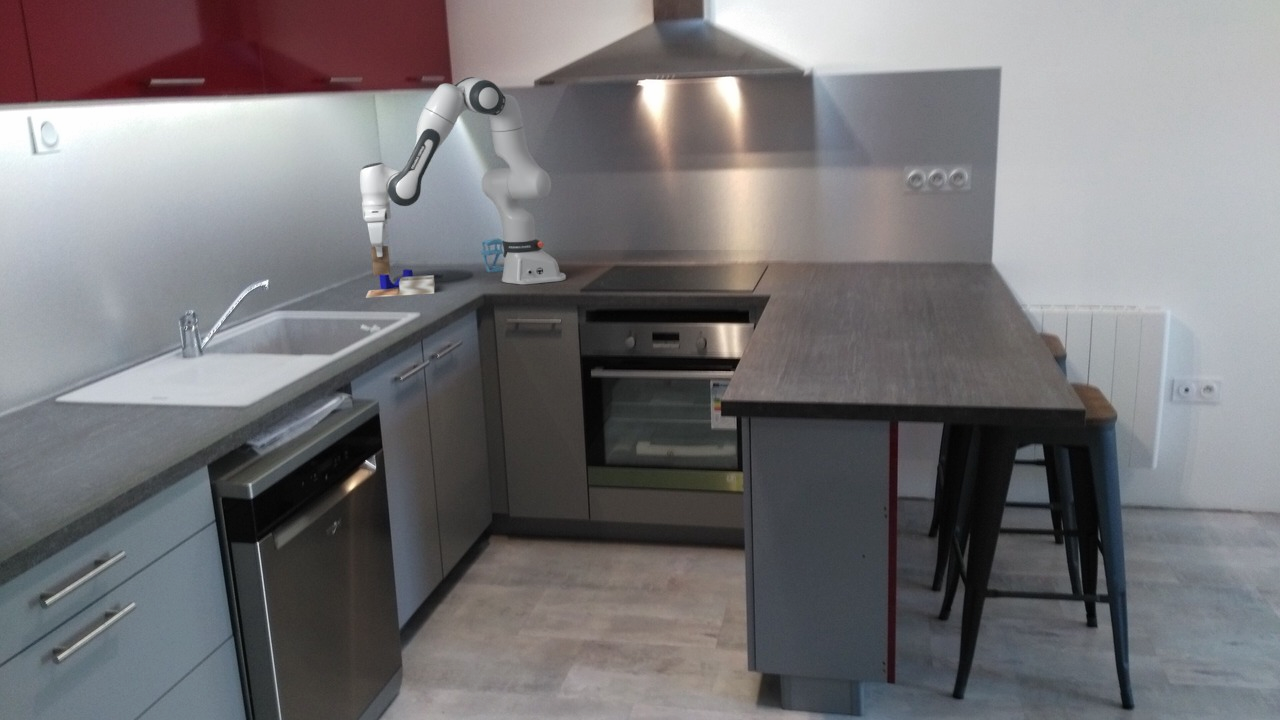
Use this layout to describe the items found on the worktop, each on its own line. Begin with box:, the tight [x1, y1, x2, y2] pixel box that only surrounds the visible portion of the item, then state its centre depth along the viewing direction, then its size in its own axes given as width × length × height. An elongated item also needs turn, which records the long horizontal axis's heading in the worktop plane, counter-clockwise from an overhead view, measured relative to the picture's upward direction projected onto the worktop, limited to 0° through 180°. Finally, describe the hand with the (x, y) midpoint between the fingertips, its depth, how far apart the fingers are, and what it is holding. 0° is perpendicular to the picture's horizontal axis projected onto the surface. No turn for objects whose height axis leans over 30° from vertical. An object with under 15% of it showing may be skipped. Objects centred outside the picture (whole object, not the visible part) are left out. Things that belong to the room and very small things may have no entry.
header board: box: [365, 274, 436, 299], centre depth 354 cm, size 22×13×5 cm, turn 99°
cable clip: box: [379, 268, 414, 290], centre depth 366 cm, size 12×4×6 cm, turn 143°
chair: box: [480, 238, 504, 273], centre depth 396 cm, size 8×8×12 cm
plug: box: [370, 245, 391, 276], centre depth 351 cm, size 5×3×9 cm, turn 100°
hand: (380, 255), depth 351 cm, fingers closed on plug, 3 cm apart
